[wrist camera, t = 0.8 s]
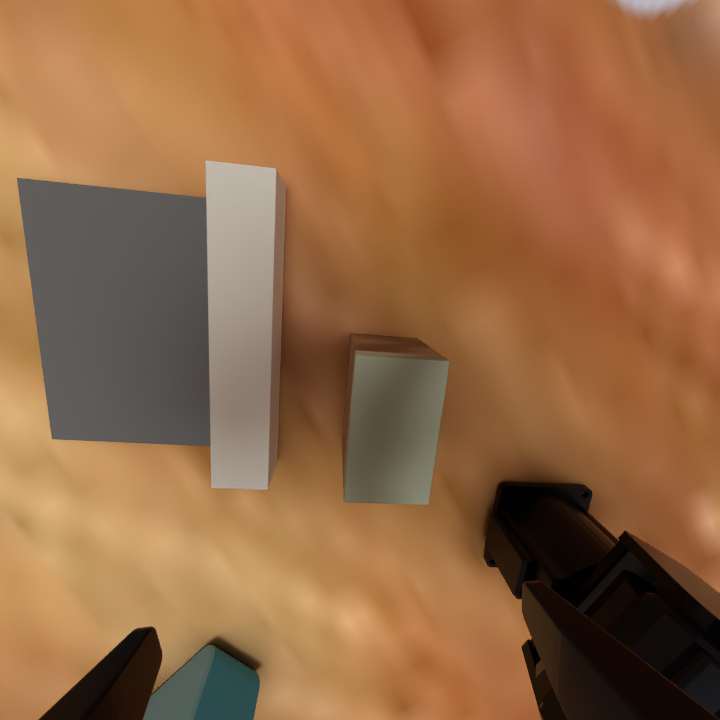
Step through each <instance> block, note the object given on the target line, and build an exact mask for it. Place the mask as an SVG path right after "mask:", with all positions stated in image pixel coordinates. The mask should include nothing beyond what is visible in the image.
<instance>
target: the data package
mask: <svg viewBox="0 0 720 720" xmlns="http://www.w3.org/2000/svg"><path fill="white" fill-rule="evenodd" d="M259 686H260V680H259V676H258V674H257V673H256V672H255V671H253V670H252V669H250V668H249V667H247V666H245V665H244V664H242V663H241V662H239V661H238V660H236V659H234V658H233V657H231V656H230V655H228V654H226V653H225V652H223V651H222V650H220V649H218V648H217V647H215V646H214V645H207V646H206V647H204V648H203V649H202V650H201V651H200V652H199V653H197V654H196V655H195V656H194V657H193V658H192V659H191V660H190V661H189V662H188V663H186V664H185V665H184V666H183V667H182V668H181V669H180V670H179V671H178V672H177V673H175V674H174V675H173V676H172V677H171V678H170V679H169V680H168V681H167V682H166V683H164V684H163V685H162V686H161V687H160V688H159V689H158V690H157V691H156V692H155V693H154V694H152V695H151V697H150V700H149V703H148V706H147V709H146V712H145V715H144V718H143V720H253V719H254V713H255V708H256V703H257V698H258V692H259Z"/></svg>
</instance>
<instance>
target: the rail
mask: <svg viewBox="0 0 720 720" xmlns="http://www.w3.org/2000/svg"><path fill="white" fill-rule="evenodd" d="M206 209H207V266H208V324H209V382H210V440H211V488H228V489H257V490H268V488H269V485H270V482H271V479H272V476H273V473H274V470H275V467H276V464H277V458H278V427H279V397H280V366H281V335H282V305H283V274H284V243H285V213H286V186H285V184H284V182H283V180H282V178H281V176H280V175H279V173H278V171H277V169H276V168H267V167H259V166H250V165H241V164H233V163H224V162H215V161H207V160H206Z"/></svg>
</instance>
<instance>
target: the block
mask: <svg viewBox="0 0 720 720" xmlns="http://www.w3.org/2000/svg"><path fill="white" fill-rule="evenodd" d="M449 364H450V361H448V360H447V359H446V358H444V357H443V356H441V355H440V354H438V353H437V352H436V351H434V350H433V349H431V348H430V347H429V346H427V345H426V344H424V343H423V342H422V341H420V340H419V339H417V338H405V337H392V336H379V335H365V334H352V333H351V335H350V348H349V360H348V373H347V385H346V398H345V410H344V423H343V435H342V458H343V488H344V502H352V503H384V504H417V505H428V503H429V497H430V490H431V483H432V477H433V470H434V463H435V457H436V450H437V443H438V437H439V430H440V424H441V417H442V410H443V404H444V397H445V390H446V384H447V377H448V370H449Z"/></svg>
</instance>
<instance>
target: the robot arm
mask: <svg viewBox="0 0 720 720" xmlns="http://www.w3.org/2000/svg"><path fill="white" fill-rule="evenodd" d="M506 489H508V491H506V492H505V490H506ZM591 498H592V491H591V490H590V489H589V488H588V487H586V486H585V485H569V484H542V483H516V482H504V483H502V484H500V485H499V487H498V490H497V495H496V500H495V505H494V510H493V513H492V514H491V518H490V523H489V527H488V532H487V537H486V542H485V545H486V550H485V555H484V559H485V561H486V563H487V565H488V566H489V567H498V568H499V570H500V572H501V574H502V576H503V577H504V579H505V581H506V583H507V584H508V586H509V588H510V590H511V592H512V593H513V595H514V596H515V597H516V598H517V599H522V613H523V617H524V620H525V622H526V625H527V627H528V629H529V632H530V634H531V637H532V639H531V640H527V641H526V642H525V643H524V644H523V646H522V651H523V654H524V658H525V662H526V665H527V669H528V672H529V676H530V680H531V683H532V687H533V690H534V694H535V698H536V701H537V705H538V708H539V712H540V717H541V719H542V720H720V593H719V592H717V591H716V590H715V589H713V588H712V587H711V586H710V585H708V584H707V583H706V582H704V581H703V580H702V579H701V578H699V577H698V576H697V575H695V574H694V573H693V572H692V571H690V570H689V569H688V568H686V567H685V566H683V565H682V564H680V563H679V562H677V561H675V560H674V559H672V558H670V557H669V556H667V555H665V554H664V553H662V552H660V551H659V550H657V549H655V548H654V547H652V546H650V545H649V544H647V543H645V542H644V541H642V540H640V539H639V538H637V537H635V536H634V535H632V534H630V533H629V532H627V531H624V532H623V533H622V535H621V536H620V537H619V540H618V539H616V538H615V537H614V536H613V535H612V534H611V533H610V532H609V531H608V530H607V529H606V528H605V527H603V526H602V525H601V524H600V523H599V522H598V521H597V520H596V519H595V518H594V517H593V516H591V515H590V514H589V513H588V509H589V505H590V501H591ZM161 662H162V649H161V646H160V642H159V639H158V635H157V632H156V629H155V628H154V627H143V628H137V629H135V630H133V631H132V632H131V633H130V634H129V635H128V636H127V637H126V638H125V639H123V640H122V641H121V642H120V643H119V644H118V645H117V646H116V647H115V648H114V649H113V650H112V651H111V652H110V653H109V654H108V655H107V656H105V657H104V658H103V659H102V660H101V661H100V662H99V663H98V664H97V665H96V666H95V667H94V668H93V669H92V670H91V671H90V672H88V673H87V674H86V675H85V676H84V677H83V678H82V679H81V680H80V681H79V682H78V683H77V684H76V685H75V686H74V687H73V688H71V689H70V690H69V691H68V692H67V693H66V694H65V695H64V696H63V697H62V698H61V699H60V700H59V701H58V702H57V703H56V704H55V705H53V706H52V707H51V708H50V709H49V710H48V711H47V712H46V713H45V714H44V715H43V716H42V717H41V718H40V719H39V720H143V718H144V715H145V712H146V709H147V706H148V703H149V700H150V697H151V693H152V690H153V687H154V684H155V681H156V678H157V675H158V672H159V669H160V666H161Z"/></svg>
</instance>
